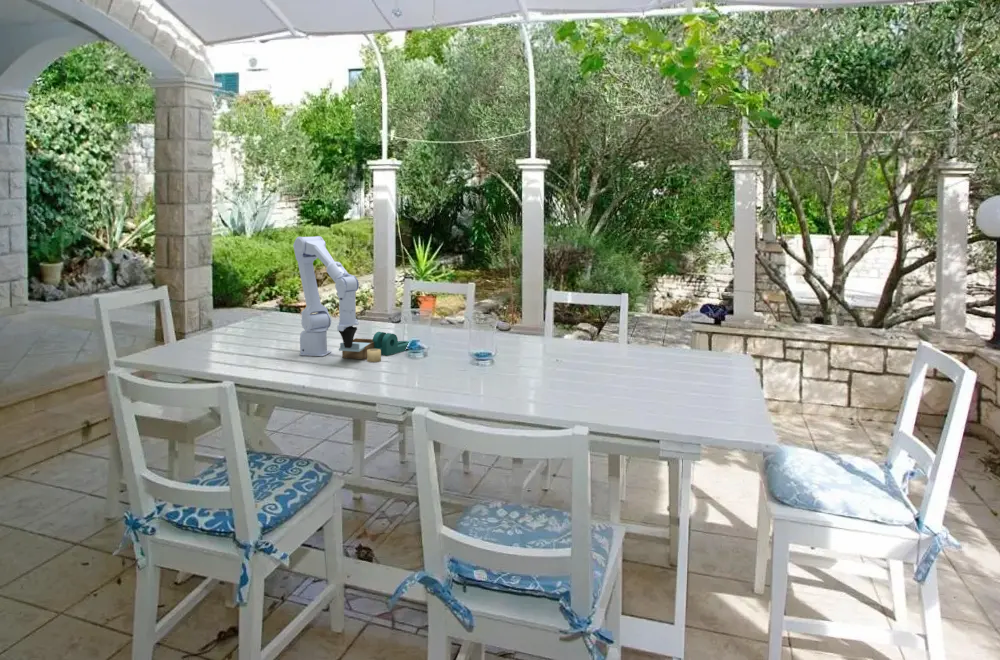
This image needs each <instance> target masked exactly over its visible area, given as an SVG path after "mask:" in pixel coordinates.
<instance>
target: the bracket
mask: <svg viewBox="0 0 1000 660" xmlns="http://www.w3.org/2000/svg"><path fill="white" fill-rule="evenodd" d="M372 339H373V342H374V349H380V350H381V356H390V355H395V354H398V353H402V352H405V349H406V347H407V345H408V343H409V342H410V341H408V340H400V341H399V340H398V336H397V335H396V333H390V332H385V331H384V332H383V331H377V332H375V334H374V335H373V336H372Z"/></svg>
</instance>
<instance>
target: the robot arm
mask: <svg viewBox="0 0 1000 660" xmlns="http://www.w3.org/2000/svg"><path fill="white" fill-rule="evenodd" d="M292 246H293V250H294V255H295V260H296V262H297V266H298V271H299V276H300V280H301V281H300V282H301V286H302V290H303V295H304V300H305V305H306V307H304V309H303V310H302V311H301V312H300V313H301V321H300V322H301V326H302V328H303V330H302V331H301V332H300V336H299V352H300V353H299V355H298V356H307V357H308V356H310V357H325V356H326V355H329V354H330V353H332V350H328V341H327V340H328V337H327V336H328V335H327V333H328V331H329V328H330V327H331V325H332V318H331V316H330V313H329V310H328V307H326V306H325V305H323V304H322V302H321V299H320V298H321V297H320V293H319V288H318V282H317V278H316V273H315V268H314V264H313V263H314V261H316V260H317V259H318V260H319V261H320V262H321V263H322V264H323V265H324V266H325V267H326V273H327V274H328V276H329V277H330V278H331V279H332V280H333V282H334V287H335V290H336V292H337V295H336V296H337V297H338V302H339V303H338V306H339V307H338V308H339V310H338V311H339V312H338V314H339V322H338V324H337V332H338V333H339V334H340V336H341V339H342V343H344V346H345V348H351V347H352V343H353V339H355V334H356V332H357V330H358V327H357V326H359V325H360V322H359V321H358V319H357V318H356V317H357V315H356V314H357V312H356V311H357V310H356V309H357V306H356V305H357V304H356V292H357V291H358V290H359V288H360V287H359V284H360V283H359V280H358V278H357V276H356V275H353V274H350V273H349V272H348V270H346V268H345V267H344V266H343V265H342V262H339V261H335V260H334V258H333V257H332V255H331V254H330V252H329V250H328V249H327V246H326V241H325V240H324V238H323V237H322V236H320V235H316V236H297V237H296V238H295V240H294V243H293V245H292Z"/></svg>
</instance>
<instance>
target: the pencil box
mask: <svg viewBox="0 0 1000 660" xmlns="http://www.w3.org/2000/svg"><path fill="white" fill-rule="evenodd" d="M353 342H361V343H370V344H368V345H367V346H365V349H363V350H362V351H360V352H354V351H341V353H342V354H341V355H342V359H348V360H349V359H350V360H351V359H353V360H367V350H368V349H374V342H373V338H357V337H356V338H355V337H354V338H353Z"/></svg>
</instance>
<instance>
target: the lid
mask: <svg viewBox="0 0 1000 660" xmlns="http://www.w3.org/2000/svg"><path fill="white" fill-rule="evenodd" d="M339 344H340V345H339V348H338V351H339V352H342V351H354V352H360V351H362V350H363V349H365V346H367V345H368V344H370V343H361V342H353V343H352V347H351V348H345V346H344V343H343V342H340V343H339Z"/></svg>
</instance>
